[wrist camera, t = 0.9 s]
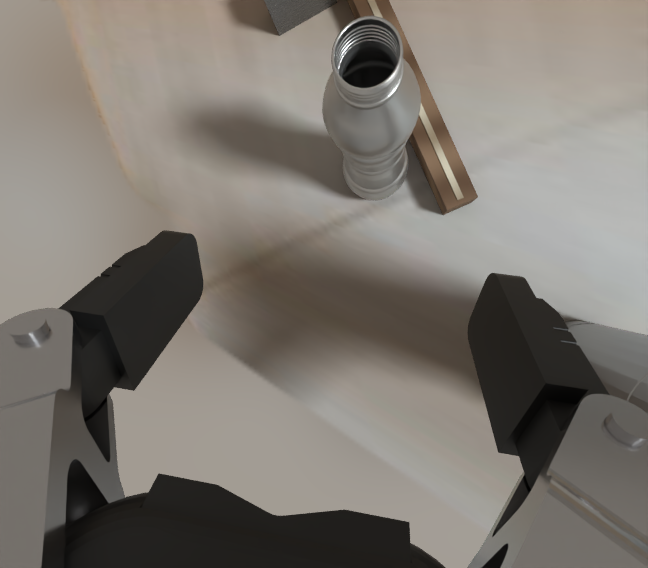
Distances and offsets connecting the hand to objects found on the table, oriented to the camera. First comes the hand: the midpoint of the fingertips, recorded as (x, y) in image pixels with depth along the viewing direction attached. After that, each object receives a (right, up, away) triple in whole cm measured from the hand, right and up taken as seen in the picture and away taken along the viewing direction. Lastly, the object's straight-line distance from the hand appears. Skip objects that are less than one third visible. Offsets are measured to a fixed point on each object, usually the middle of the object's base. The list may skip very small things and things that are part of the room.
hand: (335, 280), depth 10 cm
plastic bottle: (+5, +12, +27) cm, 30 cm away
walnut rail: (+8, +21, +26) cm, 34 cm away
